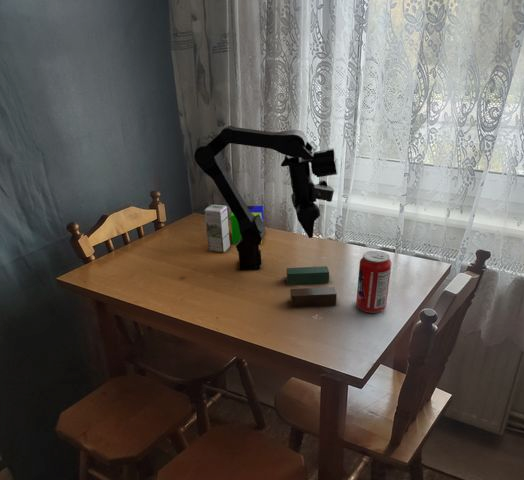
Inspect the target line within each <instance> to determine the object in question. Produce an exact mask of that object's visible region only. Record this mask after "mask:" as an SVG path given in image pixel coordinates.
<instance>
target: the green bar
mask: <svg viewBox="0 0 524 480" xmlns="http://www.w3.org/2000/svg"><path fill="white" fill-rule="evenodd" d="M286 282H287V285H288V286H289V285H290V286H292V285H293V286H294V285H308V284H309V285H312V284H314V285H315V284H329V283H330V271H329V268H328V266H327V265H324V266H323V265H322V266H304V267H303V266H302V267H286Z"/></svg>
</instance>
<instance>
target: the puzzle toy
mask: <svg viewBox="0 0 524 480" xmlns="http://www.w3.org/2000/svg"><path fill="white" fill-rule="evenodd" d="M246 206H247V208H248V209H249V211H250V212H251V213H252V214H253V215H254V216H256V215H258V214H259V215H260V217H261V219H262V221H263V223H265V221H264V220H265V219H264V205H246ZM230 226H231V229H230V230H231V242H232V244H231V245H237V244H238V242H239V240H240V239H241V237H242V236H241V234H240V230H239V225H238V221H237V219H236V217H235V216H234V214H233V212H232V211H231V214H230ZM262 243H263V240H262V241H261V243H260V244H259V245H262Z"/></svg>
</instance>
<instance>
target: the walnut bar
mask: <svg viewBox="0 0 524 480" xmlns="http://www.w3.org/2000/svg"><path fill="white" fill-rule="evenodd" d="M289 292H290V293H289V294H290V295H289V296H290V298H289V299H290V305H291V308H305V307H306V308H307V307H328V306H337V291H336V288H335V286H328V287H327V286H326V287H325V286H324V287H306V288H290V291H289Z"/></svg>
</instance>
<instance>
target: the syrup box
mask: <svg viewBox="0 0 524 480" xmlns="http://www.w3.org/2000/svg"><path fill="white" fill-rule="evenodd" d="M204 217H205V227H206V236H207V237H206V238H207V245H208V246H207V248H208V252H216V253H225V252H226V251H227V250H228V249H229V248H230V247H231V242H230V233H229V232H230V230H229V216H228V206H227V205H222V204H221V205H220V204H210V205H208V206H207V207H206V208H205V209H204Z"/></svg>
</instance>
